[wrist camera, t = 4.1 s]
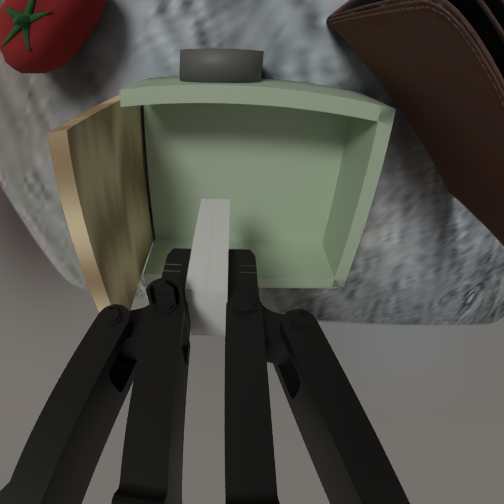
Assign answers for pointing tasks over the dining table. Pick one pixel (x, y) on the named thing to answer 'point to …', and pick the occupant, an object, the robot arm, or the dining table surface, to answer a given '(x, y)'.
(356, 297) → the dining table surface
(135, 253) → the panel
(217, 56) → the box
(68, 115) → the dining table surface
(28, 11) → the tomato
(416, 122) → the letter holder
